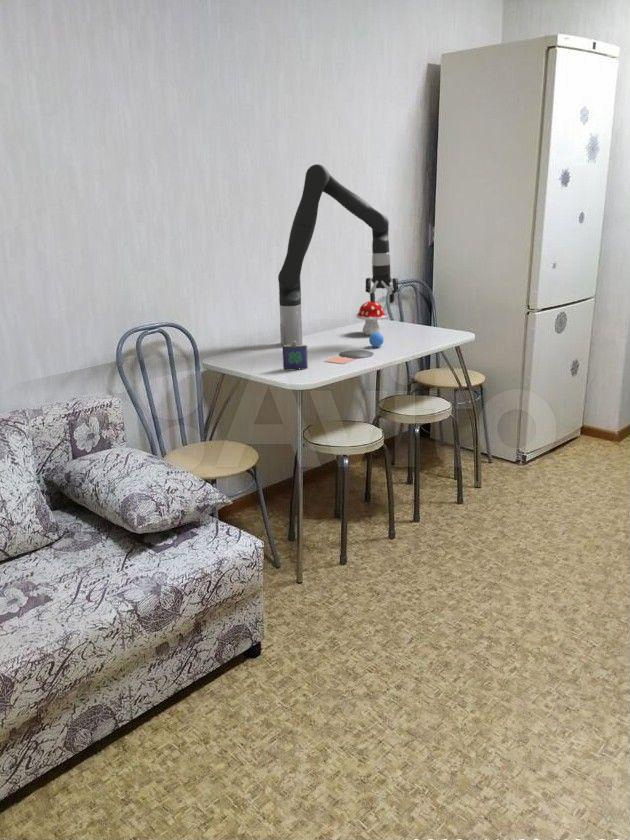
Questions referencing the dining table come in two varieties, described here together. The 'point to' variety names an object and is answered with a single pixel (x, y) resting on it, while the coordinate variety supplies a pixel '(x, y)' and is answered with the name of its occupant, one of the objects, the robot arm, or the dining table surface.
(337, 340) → the dining table surface
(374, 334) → the ball
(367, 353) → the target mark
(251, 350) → the dining table surface
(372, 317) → the decorative mushroom
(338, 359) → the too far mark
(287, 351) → the flask
